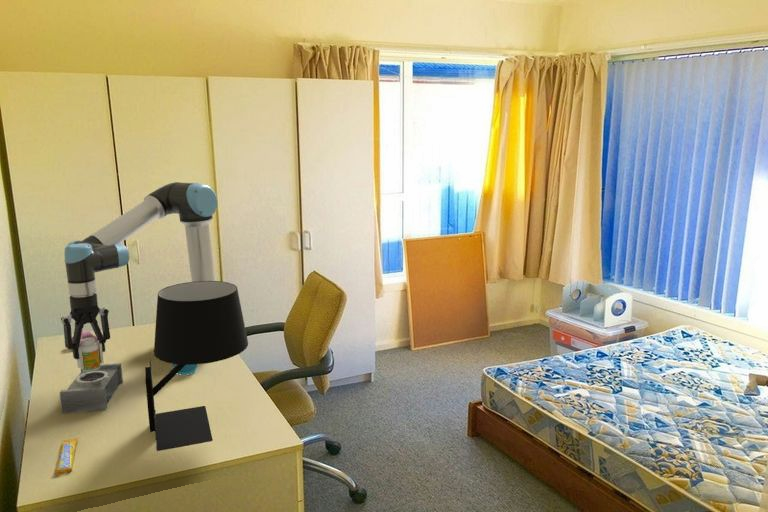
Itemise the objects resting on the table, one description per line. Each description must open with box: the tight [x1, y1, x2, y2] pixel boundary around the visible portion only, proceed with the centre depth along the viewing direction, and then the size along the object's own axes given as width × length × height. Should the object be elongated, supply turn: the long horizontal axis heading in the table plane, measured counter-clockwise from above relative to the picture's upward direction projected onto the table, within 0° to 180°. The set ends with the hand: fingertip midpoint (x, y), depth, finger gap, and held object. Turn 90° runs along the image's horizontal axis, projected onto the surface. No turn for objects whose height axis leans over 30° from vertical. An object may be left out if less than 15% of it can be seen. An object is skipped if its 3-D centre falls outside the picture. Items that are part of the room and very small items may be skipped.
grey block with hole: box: [59, 362, 124, 414], centre depth 185 cm, size 12×20×7 cm, turn 10°
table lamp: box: [144, 280, 249, 452], centre depth 165 cm, size 26×28×40 cm
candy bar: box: [54, 437, 80, 476], centre depth 151 cm, size 17×4×2 cm, turn 22°
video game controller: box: [72, 329, 99, 348], centre depth 230 cm, size 10×5×7 cm, turn 173°
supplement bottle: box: [80, 338, 101, 372], centre depth 183 cm, size 5×5×10 cm
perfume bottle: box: [172, 364, 199, 376], centre depth 204 cm, size 9×9×15 cm
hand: (90, 364), depth 184 cm, fingers closed on supplement bottle, 5 cm apart
